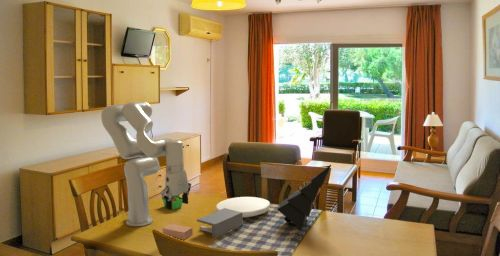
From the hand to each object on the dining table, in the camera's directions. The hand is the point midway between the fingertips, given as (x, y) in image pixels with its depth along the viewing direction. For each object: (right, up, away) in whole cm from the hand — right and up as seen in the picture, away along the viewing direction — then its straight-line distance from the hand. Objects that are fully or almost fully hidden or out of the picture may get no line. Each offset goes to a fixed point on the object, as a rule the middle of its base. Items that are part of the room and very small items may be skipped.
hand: (177, 206), depth 189 cm
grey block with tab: (+18, -12, +8) cm, 23 cm away
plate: (+29, -9, +31) cm, 43 cm away
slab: (0, -14, +2) cm, 14 cm away
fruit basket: (-9, -8, +41) cm, 43 cm away
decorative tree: (+58, -11, +13) cm, 61 cm away
